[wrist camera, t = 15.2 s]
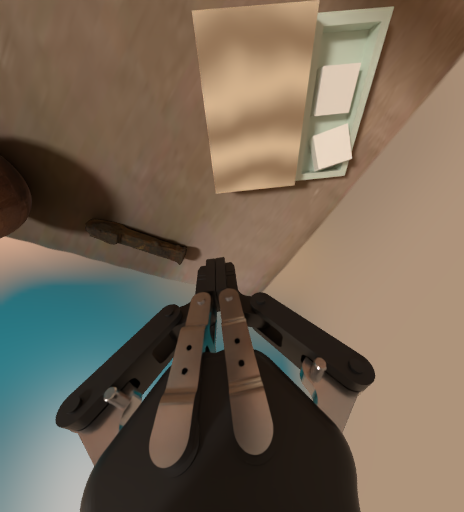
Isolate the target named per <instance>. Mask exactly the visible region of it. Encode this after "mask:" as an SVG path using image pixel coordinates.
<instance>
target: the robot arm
mask: <svg viewBox="0 0 464 512" xmlns="http://www.w3.org/2000/svg"><path fill="white" fill-rule="evenodd" d="M197 276H198V277H197V284H196V293H195V295H194V296H193V298H192V300H191V302H190V303H188V304H186V305H184V306H181V307H179V306H177V305H175V304H173V305H168V306H166V307H164V308H163V309H162V310H161V311H160V312H159V313H157V314H156V315H155V316H154V317H153V318H152V319H151V320H150V321H149V322H148V323H147V324H146V325H145V326H144V327H143V328H142V329H140V330H139V331H138V332H137V333H136V334H135V335H134V336H133V337H132V338H131V339H130V340H129V341H127V342H126V343H125V344H124V345H123V346H122V347H121V348H120V349H119V350H118V351H117V352H116V353H114V354H113V355H112V356H111V357H110V358H109V359H108V360H107V361H106V362H105V363H104V364H103V365H102V366H101V367H99V368H98V369H97V370H96V371H95V372H94V373H93V374H92V375H91V376H90V377H89V378H88V379H87V380H85V382H83V383H82V384H81V385H80V386H79V387H78V388H77V389H76V390H75V391H74V392H73V393H71V394H70V395H69V396H68V397H67V399H66V400H65V401H64V402H63V403H62V405H61V406H60V408H59V410H58V412H57V415H56V424H57V426H59V427H61V428H65V429H68V430H70V431H72V432H75V433H78V435H79V436H80V438H81V440H82V443H83V444H84V446H85V448H86V450H87V452H88V454H89V456H90V458H91V460H92V462H93V464H94V468H93V470H92V472H91V474H90V477H89V479H88V481H87V484H86V487H85V490H84V493H83V497H82V501H81V508H80V512H360V507H359V500H358V492H357V474H356V467H355V463H354V459H353V456H352V453H351V450H350V447H349V445H348V443H347V441H346V439H345V437H344V436H343V434H342V432H343V430H344V428H345V425H346V423H347V420H348V418H349V415H350V413H351V410H352V408H353V406H354V403H355V401H356V398H357V396H359V395H360V394H361V393H362V392H363V391H364V390H365V389H366V388H367V387H368V386H369V385H370V384H371V383H372V382H373V381H374V379H375V372H374V369H373V367H372V365H371V364H370V362H369V361H368V360H367V359H366V358H365V357H363V356H362V355H360V354H359V353H357V352H356V351H354V350H353V349H351V348H350V347H348V346H347V345H345V344H343V343H342V342H340V341H339V340H337V339H336V338H334V337H333V336H331V335H329V334H328V333H326V332H325V331H323V330H322V329H320V328H318V327H317V326H316V325H314V324H312V323H311V322H309V321H308V320H306V319H305V318H303V317H302V316H300V315H298V314H297V313H295V312H294V311H292V310H291V309H289V308H288V307H286V306H285V305H283V304H281V303H280V302H278V301H277V300H275V299H274V298H272V297H271V296H269V295H268V294H266V293H261V292H259V293H255V294H254V295H252V297H251V296H245V295H243V294H241V293H240V292H239V291H238V287H237V281H236V274H235V267H234V265H233V264H232V263H231V262H229V263H225V258H224V257H221V258H216V259H207V260H206V266H201V267H200V269H199V270H198V275H197ZM218 311H221V319H222V323H221V324H222V334H223V341H224V350H222V351H219V352H217V353H216V333H217V312H218ZM248 326H249V327H253V329H254V330H255V331H256V332H257V333H258V334H260V335H261V336H262V337H263V338H264V339H265V340H267V341H268V342H269V343H270V344H271V345H273V346H274V347H275V348H276V349H277V350H278V351H279V352H281V353H282V354H283V355H284V356H285V357H287V358H288V359H289V360H290V361H291V362H292V363H294V364H295V365H296V366H297V367H298V368H299V369H300V379H301V381H302V384H303V385H304V386H305V388H306V389H307V390H308V391H309V393H310V394H311V396H312V399H313V401H312V400H311V399H310V398H309V397H308V396H307V395H306V394H305V393H304V392H303V391H302V390H301V389H300V388H299V387H298V386H297V385H296V384H295V383H294V382H293V381H292V380H291V379H290V378H289V377H288V376H287V375H286V374H285V373H284V372H283V371H282V370H281V369H280V368H279V367H278V366H277V365H276V364H275V363H274V362H273V361H272V360H271V359H270V358H269V357H267V356H266V355H264V354H263V353H262V352H260V351H257V350H254V349H253V346H252V342H251V338H250V334H249V330H248ZM173 357H174V358H173ZM172 358H173V362H172V365H171V366H170V367H169V368H168V369H167V371H166V372H165V373H164V374H163V375H162V377H161V378H160V379H159V381H158V382H157V383H156V384H155V386H154V387H153V388H152V390H151V391H150V392H149V394H148V395H147V396H146V397H145V399H144V400H143V401H142V395H143V394H144V392H145V391H146V390H147V389H148V387H149V386H150V385H151V384H152V383H153V381H154V380H155V379H156V378H157V376H158V375H159V374H160V373H161V372H162V370H163V369H164V368H165V367H166V366H167V364H168V363H169V362H170V361H171V359H172ZM141 402H142V403H141Z"/></svg>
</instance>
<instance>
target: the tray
mask: <svg viewBox="0 0 464 512" xmlns="http://www.w3.org/2000/svg"><path fill="white" fill-rule="evenodd" d="M393 9H394V6H393V7H381V8H369V9H357V10H345V11H334V12H322V13H318V15H317V22H316V30H315V37H314V44H313V52H312V59H311V67H310V74H309V81H308V89H307V96H306V104H305V111H304V119H303V126H302V133H301V141H300V148H299V156H298V163H297V170H296V178H295V181H299V180H309V179H318V178H328V177H337V176H345V172H346V169H347V166H348V162H349V160H348V161H346V162H343V163H340V164H337V165H334V166H331V167H328V168H325V169H322V170H319V171H316V172H314V166H313V160H312V154H311V148H310V142H309V140H310V139H311V138H312V137H313V136H315V135H317V134H320V133H323V132H325V131H328V130H331V129H333V128H336V127H339V126H341V125H344V124H347V123H348V128H349V136H350V145H351V152H352V149H353V145H354V142H355V138H356V135H357V132H358V128H359V125H360V121H361V118H362V115H363V111H364V108H365V104H366V101H367V98H368V94H369V91H370V87H371V84H372V81H373V77H374V74H375V70H376V67H377V64H378V60H379V57H380V53H381V50H382V46H383V43H384V40H385V36H386V33H387V29H388V26H389V23H390V19H391V16H392V12H393ZM351 63H361V66H360V70H359V74H358V78H357V82H356V86H355V90H354V94H353V98H352V102H351V106H350V110H349V113H343V114H334V115H323V116H313V117H310V113H311V107H312V100H313V93H314V87H315V80H316V74H317V70H318V69H319V68H321V67H323V66H329V65H340V64H351Z"/></svg>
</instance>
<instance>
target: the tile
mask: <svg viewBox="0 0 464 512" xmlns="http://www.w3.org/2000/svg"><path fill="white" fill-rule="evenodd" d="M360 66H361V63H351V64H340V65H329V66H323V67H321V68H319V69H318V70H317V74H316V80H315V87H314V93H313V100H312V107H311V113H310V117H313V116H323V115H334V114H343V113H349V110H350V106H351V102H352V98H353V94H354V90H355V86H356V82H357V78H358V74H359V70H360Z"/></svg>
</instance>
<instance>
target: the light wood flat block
mask: <svg viewBox="0 0 464 512" xmlns="http://www.w3.org/2000/svg"><path fill="white" fill-rule="evenodd" d="M318 7H319V0H316V1H303V2H291V3H279V4H267V5H255V6H243V7H231V8H219V9H207V10H195V11H192V15H193V23H194V31H195V38H196V46H197V53H198V61H199V68H200V76H201V84H202V91H203V99H204V106H205V114H206V121H207V129H208V137H209V144H210V152H211V159H212V167H213V174H214V182H215V190H216V194H217V193H226V192H236V191H245V190H254V189H264V188H273V187H283V186H292V185H295V178H296V170H297V163H298V156H299V148H300V141H301V133H302V126H303V119H304V111H305V104H306V96H307V89H308V81H309V74H310V67H311V59H312V52H313V44H314V37H315V30H316V22H317V15H318Z"/></svg>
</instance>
